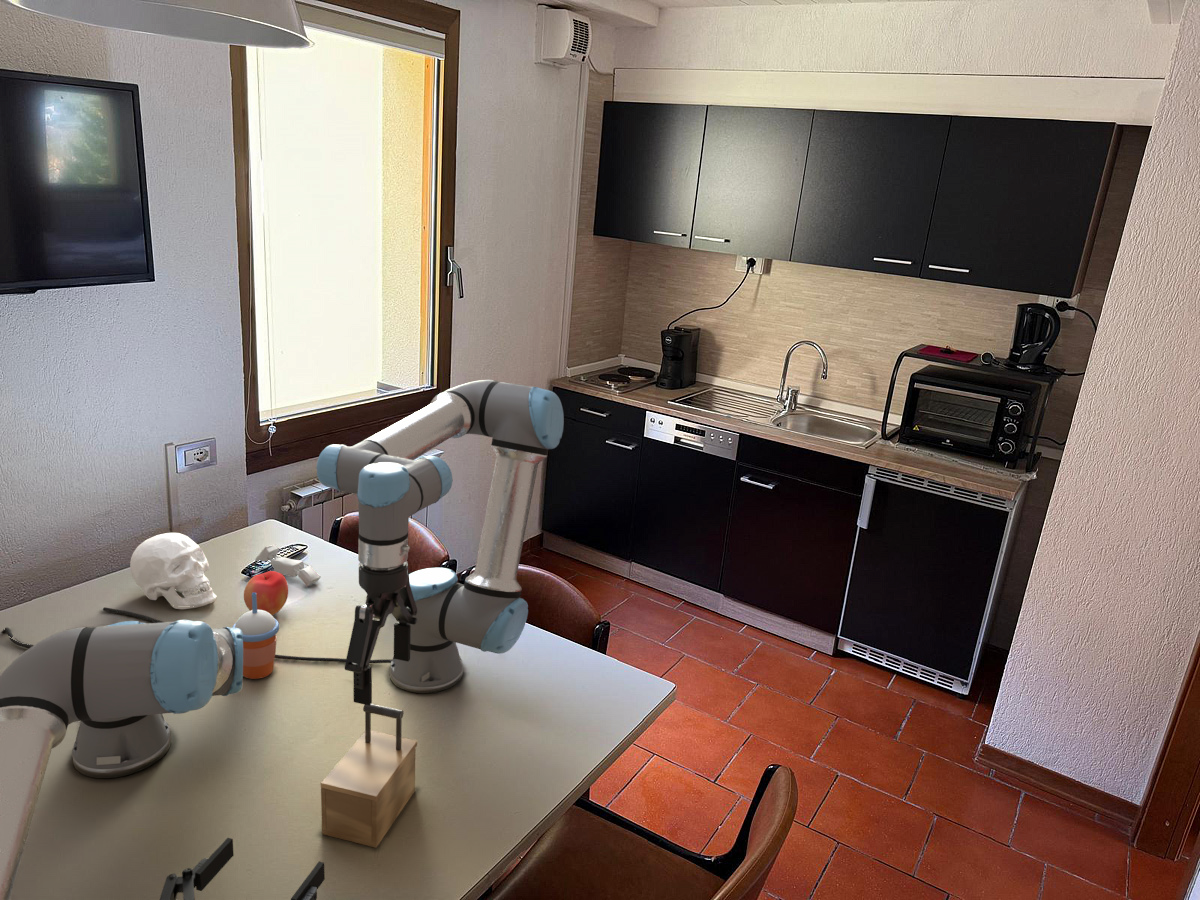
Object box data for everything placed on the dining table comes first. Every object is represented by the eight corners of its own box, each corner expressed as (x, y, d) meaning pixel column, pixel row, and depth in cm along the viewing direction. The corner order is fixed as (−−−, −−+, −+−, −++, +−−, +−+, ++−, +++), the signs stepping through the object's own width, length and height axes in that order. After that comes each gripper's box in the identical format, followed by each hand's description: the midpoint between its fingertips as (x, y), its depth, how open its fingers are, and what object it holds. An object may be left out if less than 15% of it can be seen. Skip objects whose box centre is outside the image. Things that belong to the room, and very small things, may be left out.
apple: (273, 600, 207) (272, 562, 204) (297, 613, 202) (296, 575, 199) (237, 614, 200) (234, 575, 197) (261, 628, 194) (259, 588, 191)
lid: (366, 733, 148) (366, 691, 145) (417, 745, 146) (418, 702, 143) (320, 787, 134) (319, 742, 132) (376, 801, 132) (376, 755, 130)
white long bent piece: (253, 565, 223) (254, 542, 221) (265, 560, 226) (266, 537, 224) (309, 593, 215) (310, 569, 213) (320, 588, 218) (321, 564, 216)
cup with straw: (265, 686, 173) (261, 607, 168) (224, 678, 175) (219, 599, 169) (289, 663, 182) (286, 587, 176) (250, 656, 183) (246, 580, 178)
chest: (364, 778, 150) (364, 736, 147) (415, 790, 148) (415, 747, 145) (321, 834, 137) (320, 788, 134) (376, 848, 135) (376, 801, 132)
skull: (195, 618, 196) (192, 554, 192) (118, 599, 202) (114, 537, 198) (235, 596, 208) (233, 535, 204) (161, 578, 214) (158, 519, 210)
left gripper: (69, 991, 97) (195, 859, 117) (264, 1052, 92) (361, 903, 112) (62, 939, 95) (192, 813, 115) (261, 999, 90) (361, 857, 110)
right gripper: (366, 600, 121) (366, 728, 127) (438, 536, 144) (435, 647, 151) (318, 591, 123) (321, 718, 129) (397, 529, 146) (396, 639, 152)
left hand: (275, 858), depth 114 cm, fingers open, 13 cm apart
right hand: (383, 680), depth 140 cm, fingers open, 13 cm apart
